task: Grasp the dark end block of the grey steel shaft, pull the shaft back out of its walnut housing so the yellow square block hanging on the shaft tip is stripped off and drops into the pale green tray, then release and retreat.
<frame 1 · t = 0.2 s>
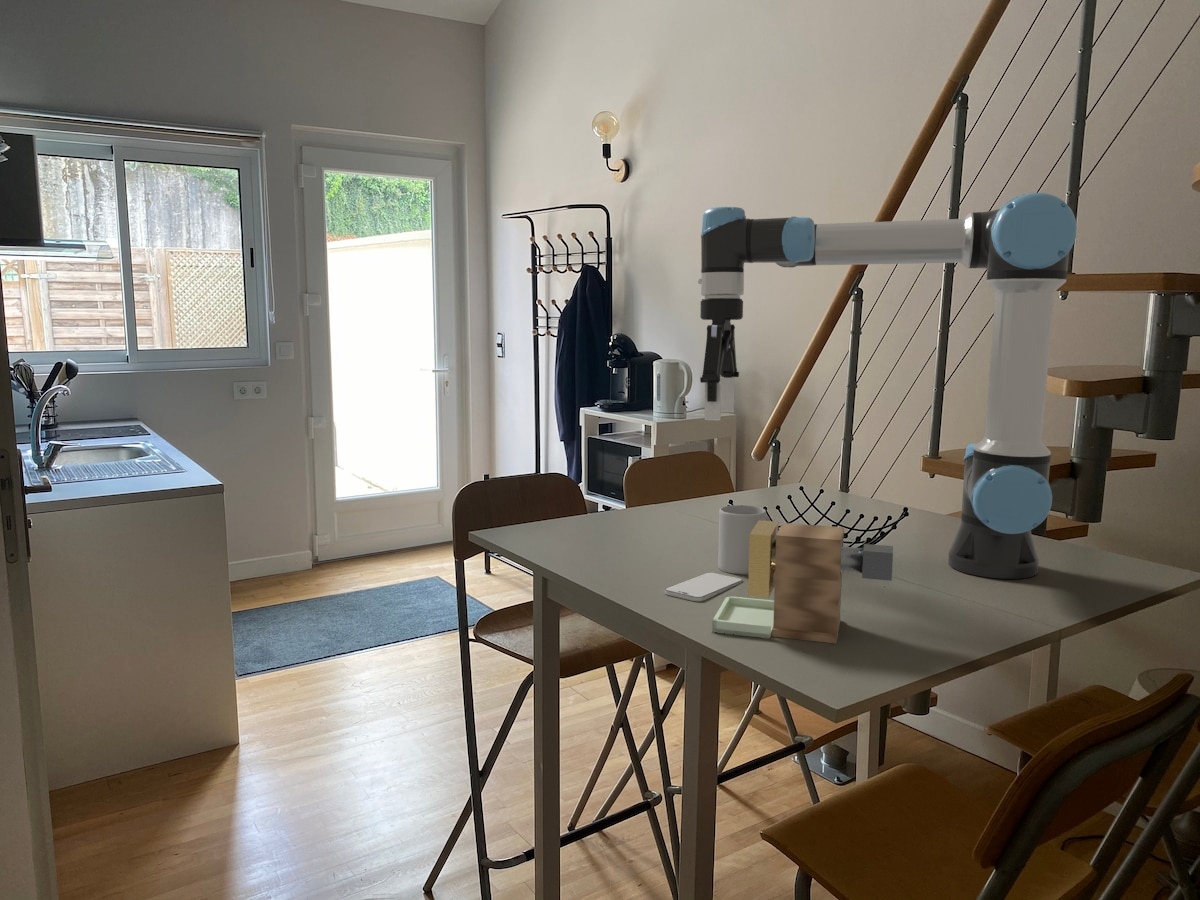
hand: (719, 416, 160), 28 cm above the table, fingers open, 13 cm apart
mug: (747, 567, 163), on the table
smartphone: (704, 591, 151), on the table
green tray: (747, 621, 134), on the table
steel shaft: (820, 557, 129), point 11 cm above the table, slide at 0.0 cm, touching yellow square block
yellow square block: (762, 587, 132), point 6 cm above the table, touching steel shaft
walnut housing: (807, 628, 131), on the table
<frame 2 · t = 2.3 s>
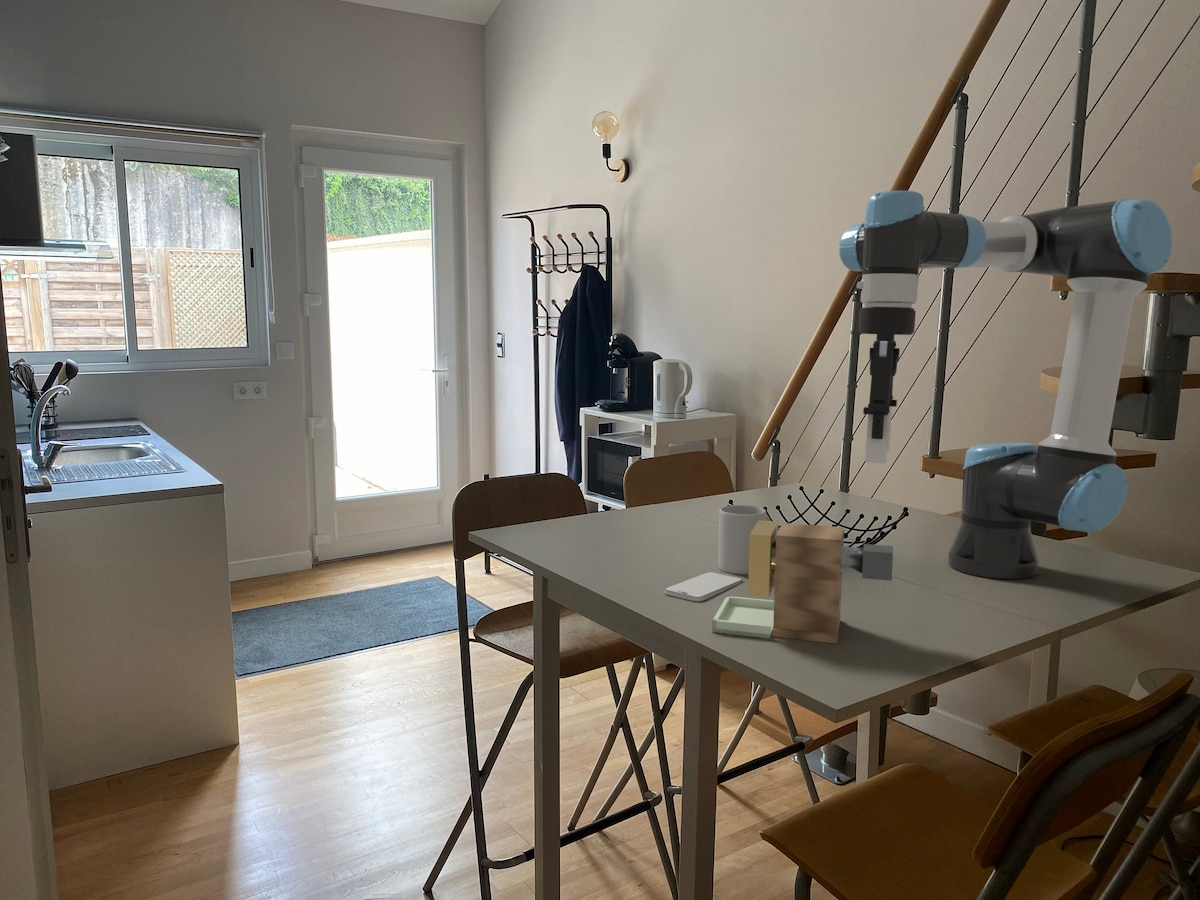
hand: (877, 456, 127), 26 cm above the table, fingers open, 13 cm apart
nothing on the table moved.
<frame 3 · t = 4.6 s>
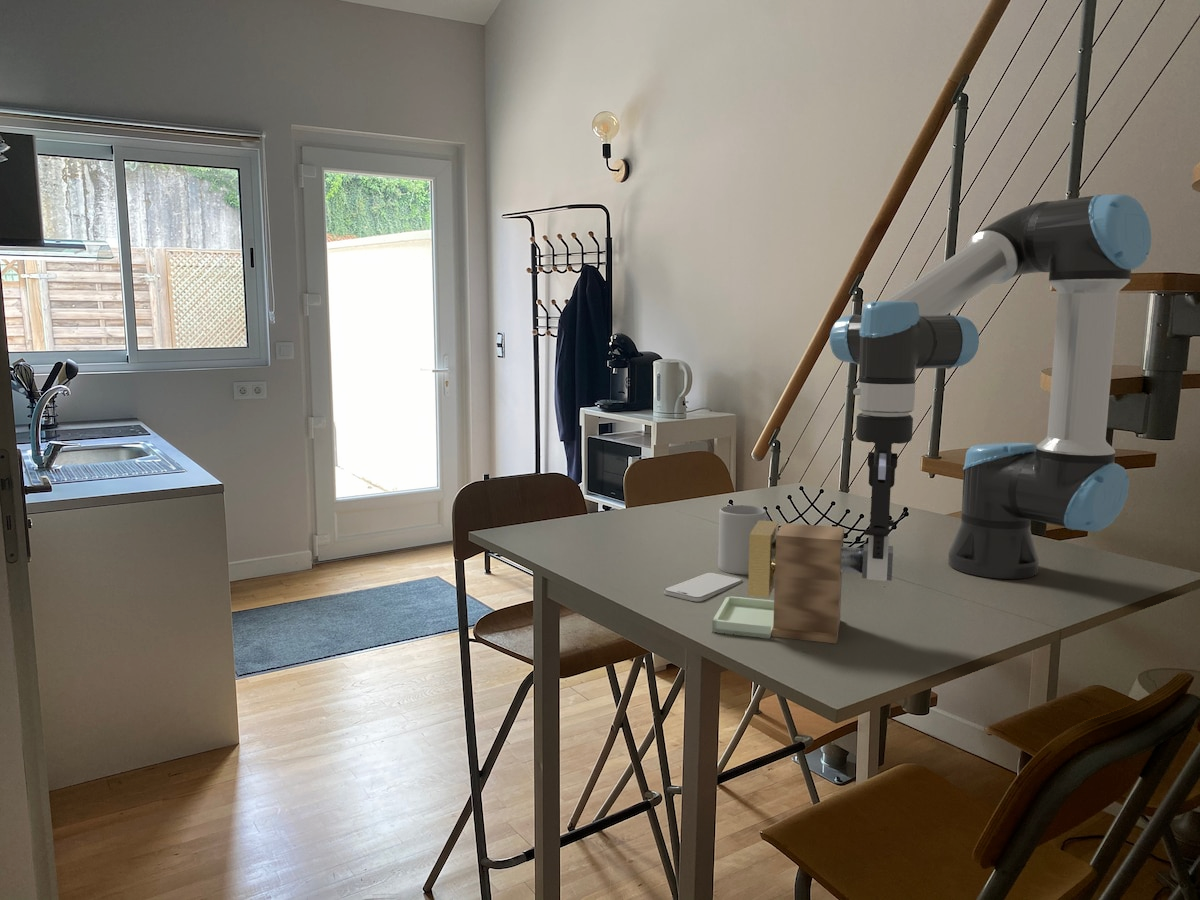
hand: (876, 574, 127), 9 cm above the table, fingers closed on steel shaft, 4 cm apart
steel shaft: (820, 557, 129), point 11 cm above the table, slide at 0.0 cm, touching yellow square block, gripper
everything else where it was.
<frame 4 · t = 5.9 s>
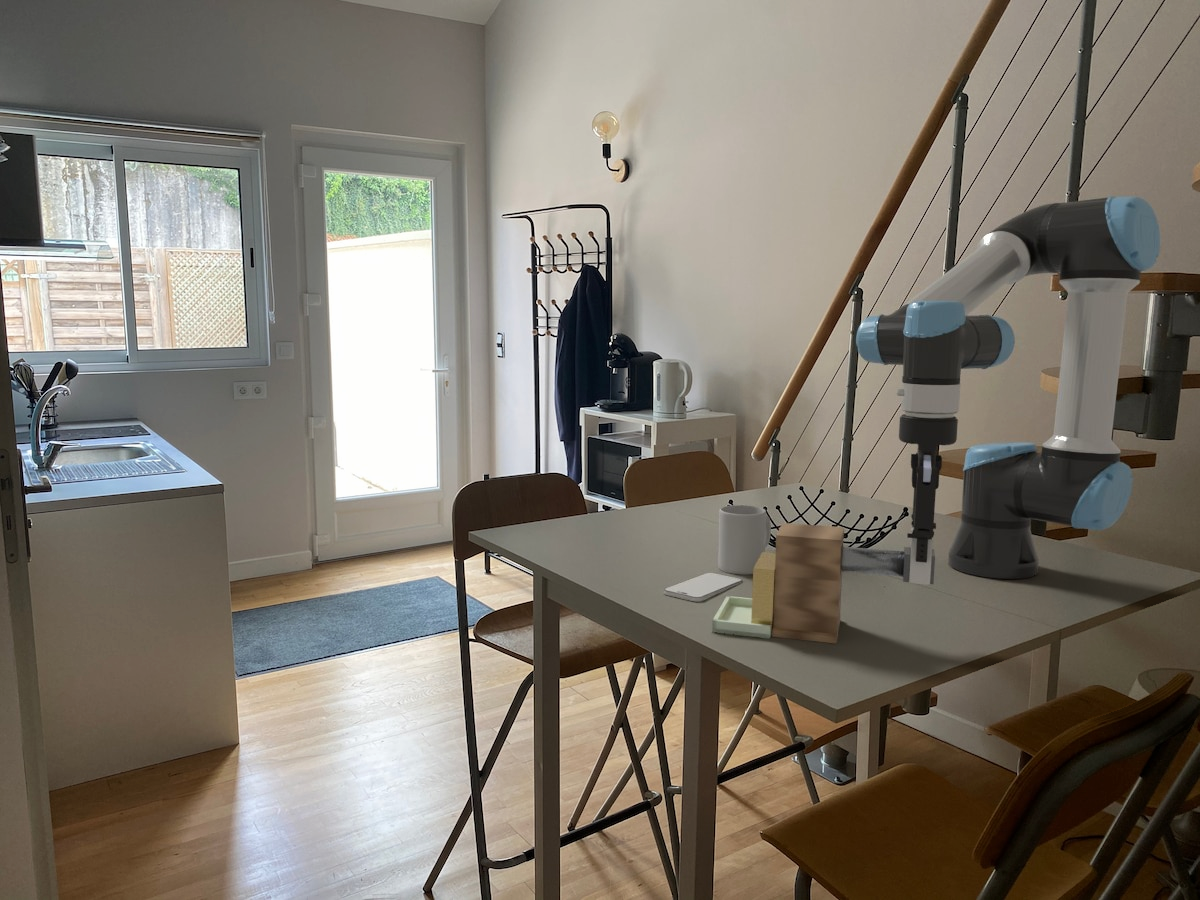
hand: (919, 578, 125), 9 cm above the table, fingers closed on steel shaft, 4 cm apart
steel shaft: (859, 560, 127), point 11 cm above the table, slide at 5.5 cm, touching gripper
yellow square block: (765, 619, 133), point 1 cm above the table, touching green tray
everything else where it was.
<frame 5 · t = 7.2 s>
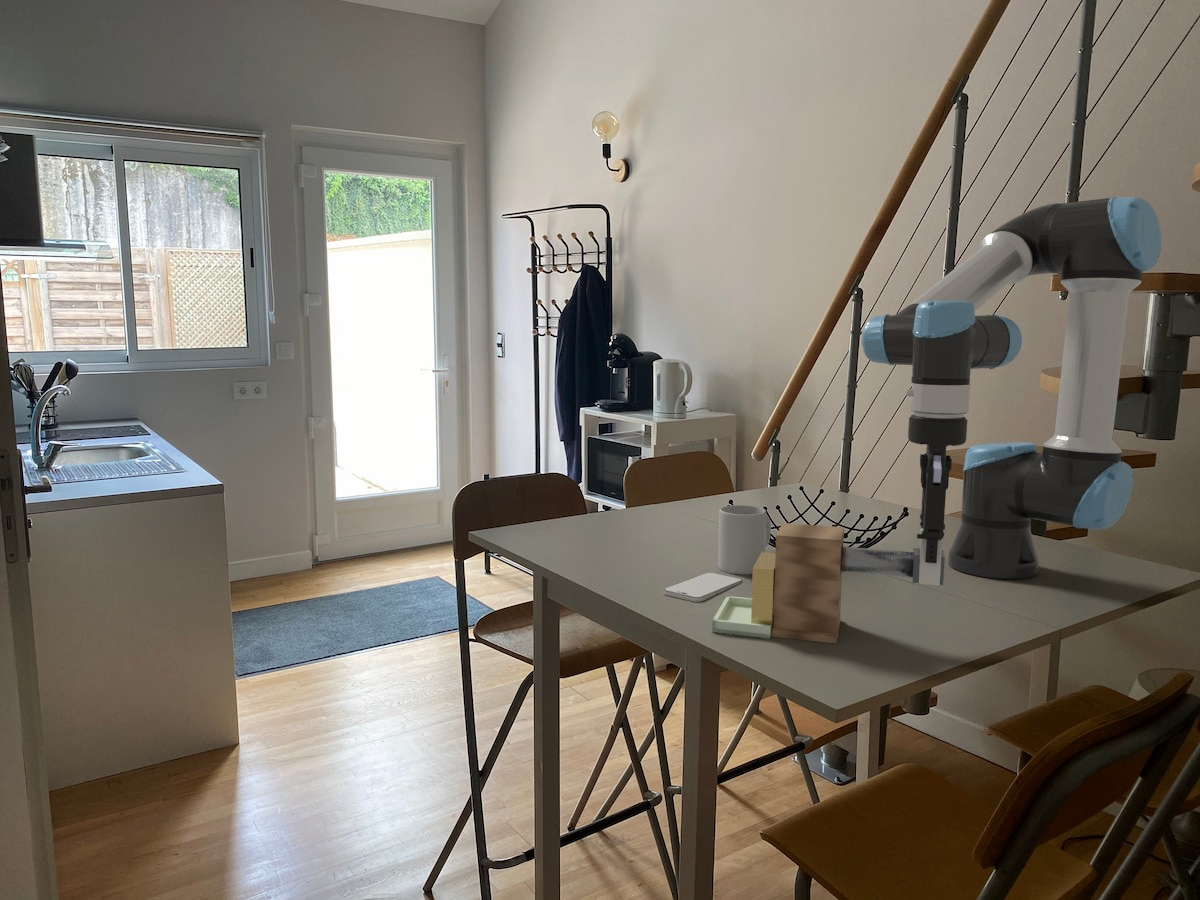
hand: (928, 578, 125), 9 cm above the table, fingers closed on steel shaft, 4 cm apart
steel shaft: (868, 561, 127), point 11 cm above the table, slide at 6.8 cm, touching gripper
everything else where it was.
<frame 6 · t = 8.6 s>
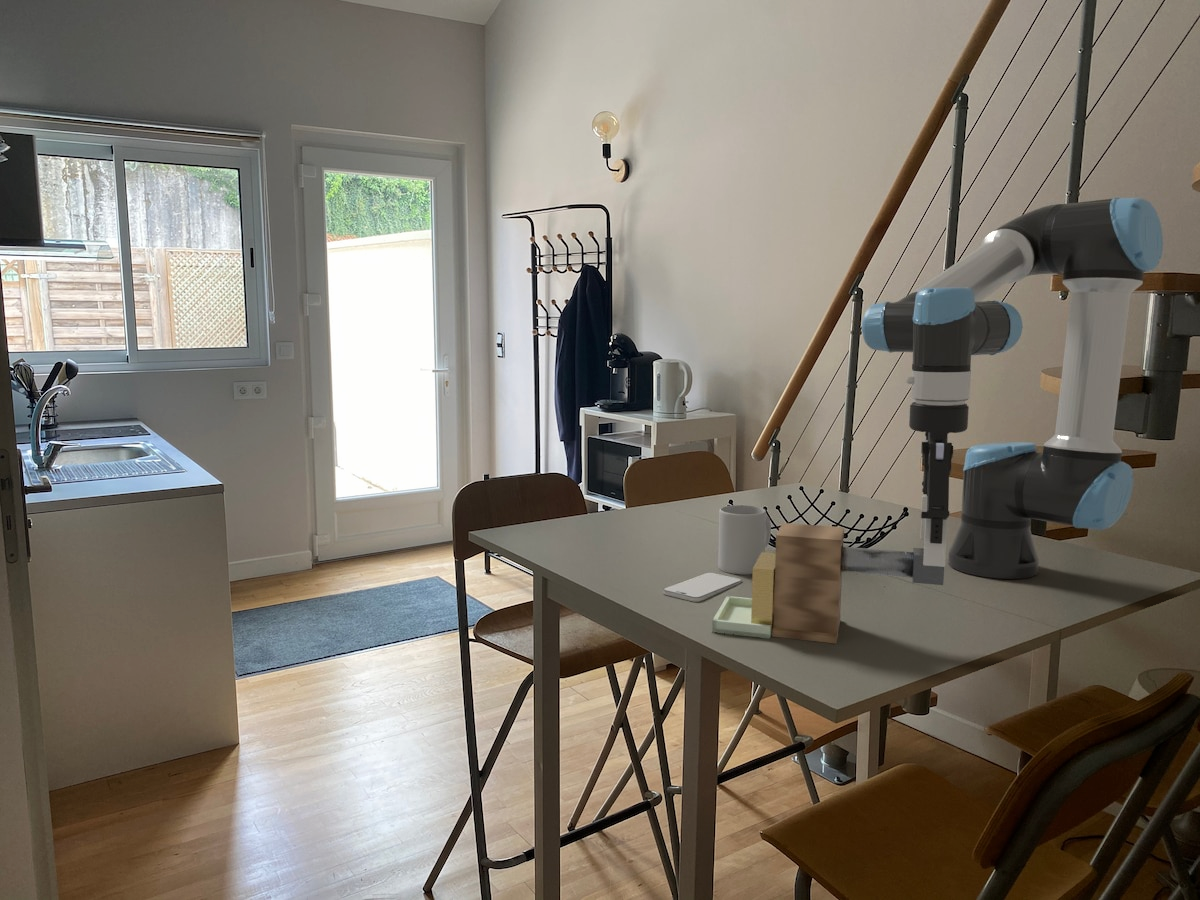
hand: (932, 552, 124), 13 cm above the table, fingers open, 13 cm apart
steel shaft: (868, 561, 127), point 11 cm above the table, slide at 6.8 cm
everything else where it was.
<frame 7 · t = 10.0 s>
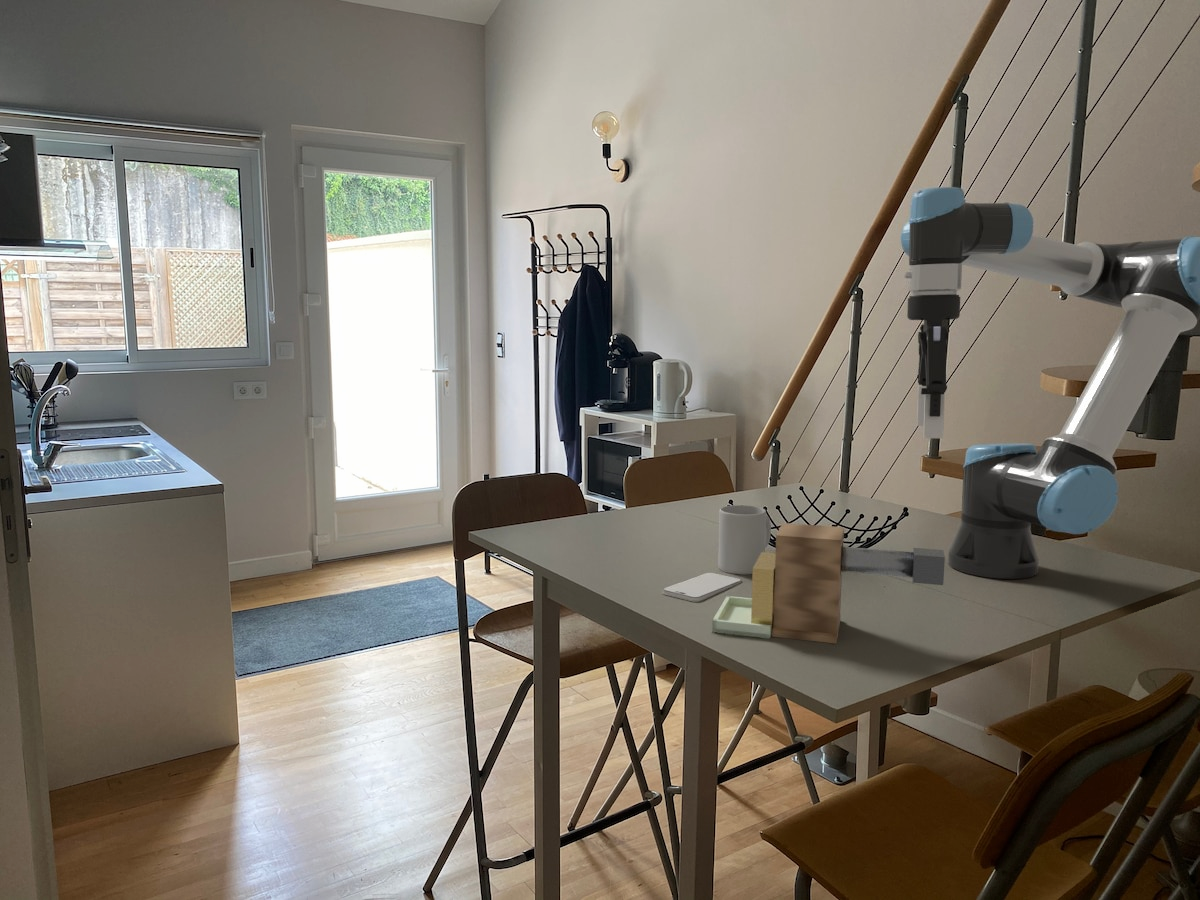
hand: (929, 431, 138), 28 cm above the table, fingers open, 13 cm apart
nothing on the table moved.
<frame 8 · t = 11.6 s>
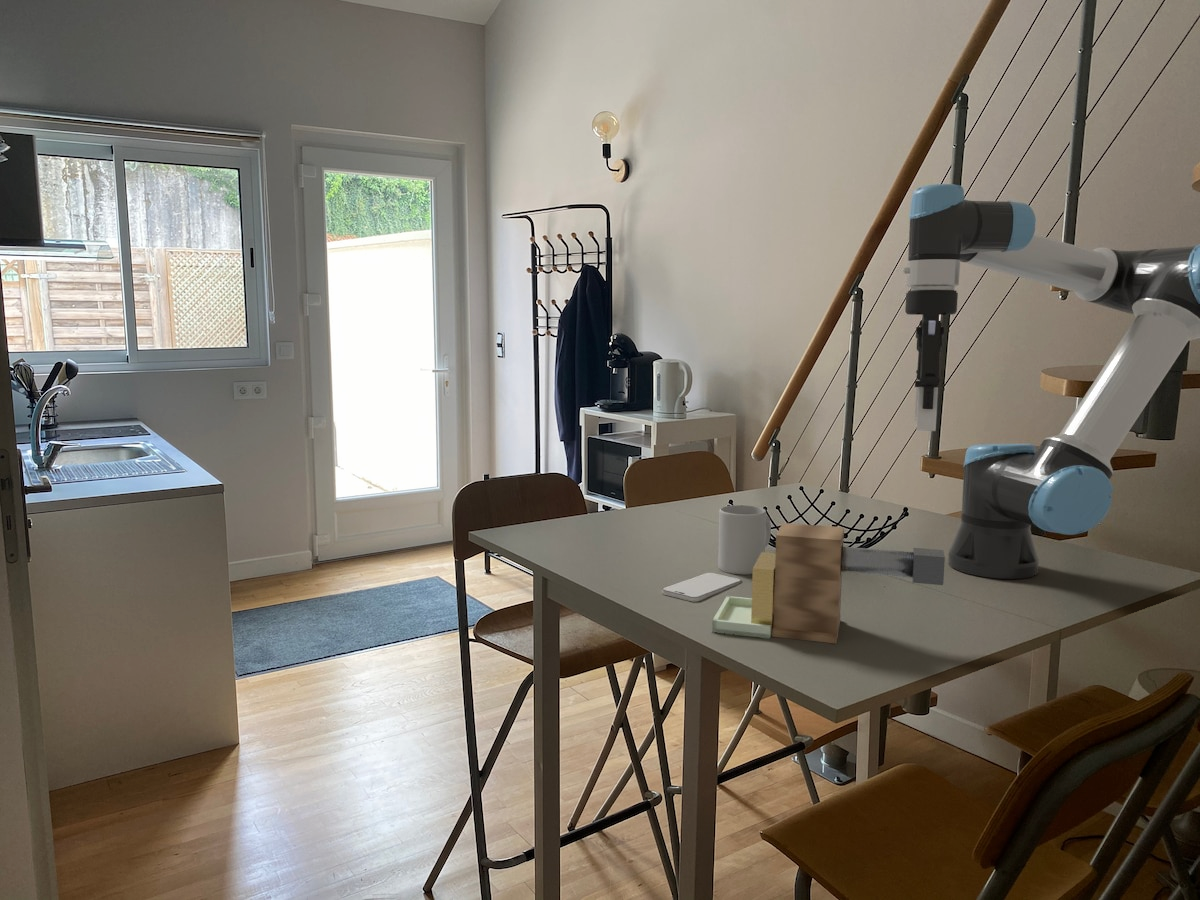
hand: (924, 425, 140), 29 cm above the table, fingers open, 13 cm apart
nothing on the table moved.
at the end: steel shaft slide at 6.8 cm; yellow square block inside the target area (3.9 cm from its centre), point 0.6 cm above the table; the gripper is holding nothing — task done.
